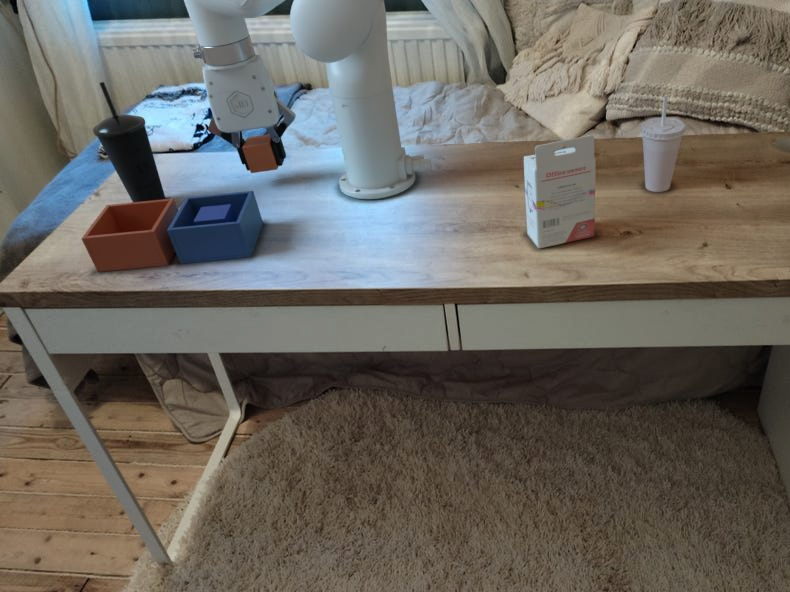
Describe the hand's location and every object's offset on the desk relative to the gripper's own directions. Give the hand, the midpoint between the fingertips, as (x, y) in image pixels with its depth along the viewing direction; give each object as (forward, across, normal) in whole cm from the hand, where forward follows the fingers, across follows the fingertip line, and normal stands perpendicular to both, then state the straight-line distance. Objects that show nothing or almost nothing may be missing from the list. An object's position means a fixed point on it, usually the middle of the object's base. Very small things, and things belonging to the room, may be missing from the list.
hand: (265, 163), depth 119 cm
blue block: (+3, -4, -20) cm, 21 cm away
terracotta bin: (+3, -16, -20) cm, 26 cm away
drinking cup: (+3, -19, -5) cm, 20 cm away
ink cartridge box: (+6, +46, -28) cm, 54 cm away
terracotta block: (0, 0, 0) cm, 0 cm away
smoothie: (+7, +62, -16) cm, 65 cm away
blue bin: (+3, -4, -20) cm, 21 cm away
